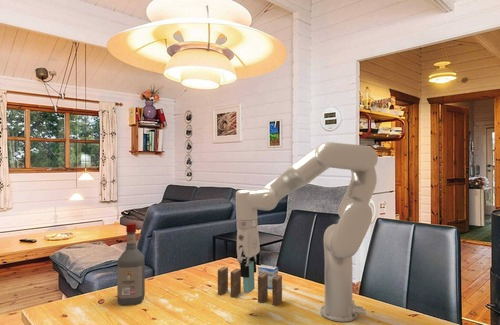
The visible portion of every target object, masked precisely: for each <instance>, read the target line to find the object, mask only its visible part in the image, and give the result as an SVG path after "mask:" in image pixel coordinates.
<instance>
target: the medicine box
mask: <svg viewBox="0 0 500 325" xmlns="http://www.w3.org/2000/svg"><path fill="white" fill-rule="evenodd" d="M262 273H268V290H272V278H274V277H275V276H276V275H279V267H278V266H272V265H265V264H261V265H259V266H258V267H257V277H258V276H259V275H260V274H262Z"/></svg>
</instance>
